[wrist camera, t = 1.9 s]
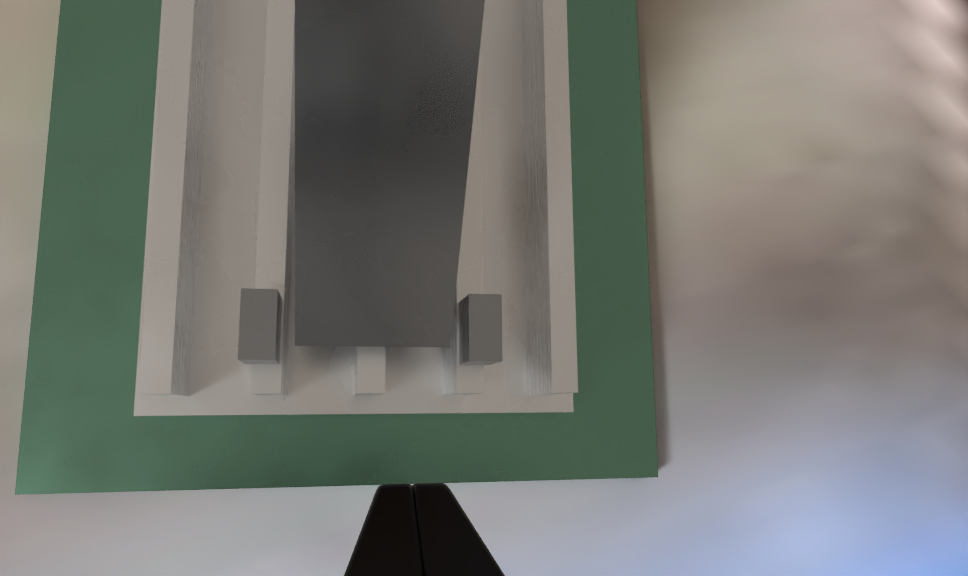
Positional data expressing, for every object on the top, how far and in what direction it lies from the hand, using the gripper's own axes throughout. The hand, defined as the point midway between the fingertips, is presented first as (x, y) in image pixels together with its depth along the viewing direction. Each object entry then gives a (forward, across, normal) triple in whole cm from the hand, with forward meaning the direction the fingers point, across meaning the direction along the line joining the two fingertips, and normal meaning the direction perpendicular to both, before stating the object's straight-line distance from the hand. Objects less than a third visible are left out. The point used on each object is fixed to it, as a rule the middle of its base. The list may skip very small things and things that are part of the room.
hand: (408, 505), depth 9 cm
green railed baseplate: (+16, 0, +3) cm, 16 cm away
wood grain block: (+10, 0, -1) cm, 10 cm away
